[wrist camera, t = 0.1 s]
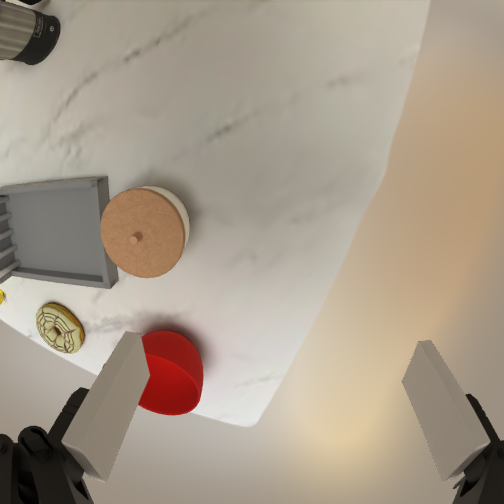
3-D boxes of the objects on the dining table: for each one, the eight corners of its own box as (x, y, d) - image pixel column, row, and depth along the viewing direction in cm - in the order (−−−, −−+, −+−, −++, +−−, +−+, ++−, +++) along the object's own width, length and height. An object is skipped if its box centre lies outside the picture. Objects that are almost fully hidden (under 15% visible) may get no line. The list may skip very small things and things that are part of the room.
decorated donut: (83, 354, 51) (74, 366, 47) (42, 328, 50) (33, 338, 46) (89, 319, 47) (79, 331, 44) (45, 290, 46) (33, 300, 42)
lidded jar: (176, 268, 42) (155, 301, 34) (115, 230, 41) (82, 253, 32) (213, 205, 39) (197, 225, 30) (145, 165, 37) (113, 173, 29)
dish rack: (4, 186, 39) (-39, 201, 29) (107, 176, 38) (61, 191, 28) (18, 268, 45) (-18, 294, 34) (118, 280, 44) (84, 317, 33)
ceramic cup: (109, 312, 46) (81, 347, 37) (205, 314, 45) (191, 356, 36) (129, 369, 51) (110, 406, 41) (216, 375, 50) (207, 418, 40)
